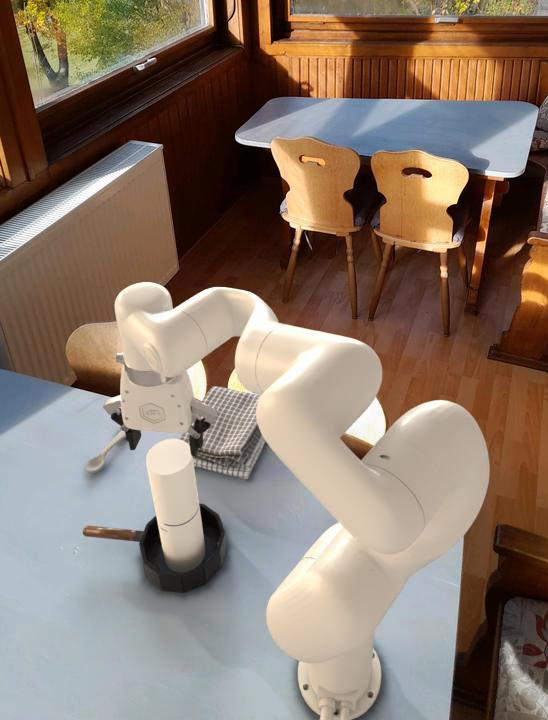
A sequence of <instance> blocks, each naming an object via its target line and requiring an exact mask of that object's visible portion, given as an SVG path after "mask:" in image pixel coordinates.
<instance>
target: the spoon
mask: <svg viewBox="0 0 548 720" xmlns="http://www.w3.org/2000/svg"><path fill="white" fill-rule="evenodd" d="M124 439H126V435H125V431H122V430H120V431H119V432H118V433H117V434H116V435H115V436H114V438H113V439H111V441H109V442H108V444H107V445H106V447H104V449H103V450H102V451H101V453H100V454H99V455H97V456H96V457H93V458H91V459H90V460H89V462H88V463H87V464H86V467H85V470H86V472H87V473H89V474H95V473H97V472H100V470H102V468H103V467H104V464H105V458H106V456H107V455H108V454H109V453H110V451H111V450H112V448H114V447H115V446H116V445H117V444H119V443H120V442H121V441H123V440H124Z"/></svg>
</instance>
